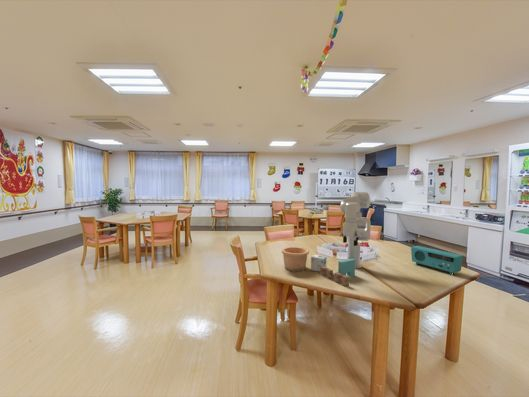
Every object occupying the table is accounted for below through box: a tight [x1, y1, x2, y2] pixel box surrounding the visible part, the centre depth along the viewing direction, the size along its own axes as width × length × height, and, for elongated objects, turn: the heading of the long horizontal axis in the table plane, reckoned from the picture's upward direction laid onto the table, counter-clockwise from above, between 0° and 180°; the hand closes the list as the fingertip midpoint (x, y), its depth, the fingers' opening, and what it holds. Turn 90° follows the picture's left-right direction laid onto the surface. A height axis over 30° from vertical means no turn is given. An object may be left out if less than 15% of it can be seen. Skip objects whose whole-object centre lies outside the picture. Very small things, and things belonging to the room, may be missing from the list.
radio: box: [410, 245, 464, 275], centre depth 192 cm, size 34×10×15 cm, turn 27°
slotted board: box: [319, 266, 350, 287], centre depth 168 cm, size 24×3×6 cm, turn 29°
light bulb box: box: [310, 254, 327, 272], centre depth 188 cm, size 11×7×11 cm, turn 59°
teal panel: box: [337, 258, 356, 277], centre depth 175 cm, size 14×3×12 cm, turn 119°
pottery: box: [281, 246, 310, 272], centre depth 193 cm, size 22×22×14 cm
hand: (350, 244), depth 172 cm, fingers open, 9 cm apart
